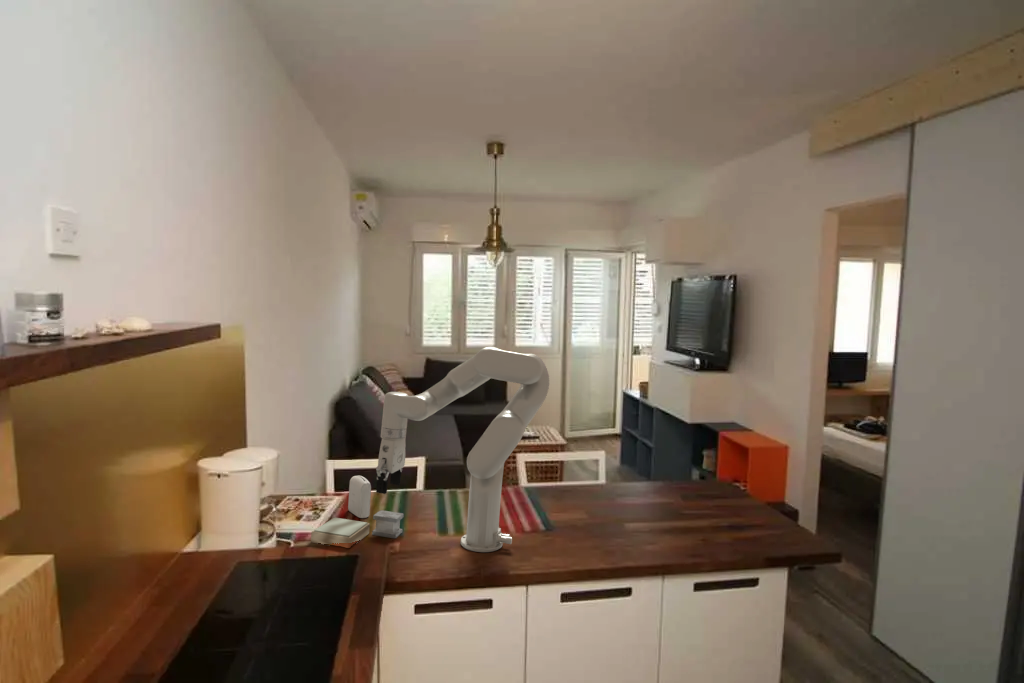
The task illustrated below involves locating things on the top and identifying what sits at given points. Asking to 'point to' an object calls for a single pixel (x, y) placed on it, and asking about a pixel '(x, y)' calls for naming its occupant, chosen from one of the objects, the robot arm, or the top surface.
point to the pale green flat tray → (340, 531)
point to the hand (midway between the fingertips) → (388, 488)
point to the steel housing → (387, 524)
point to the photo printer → (359, 496)
